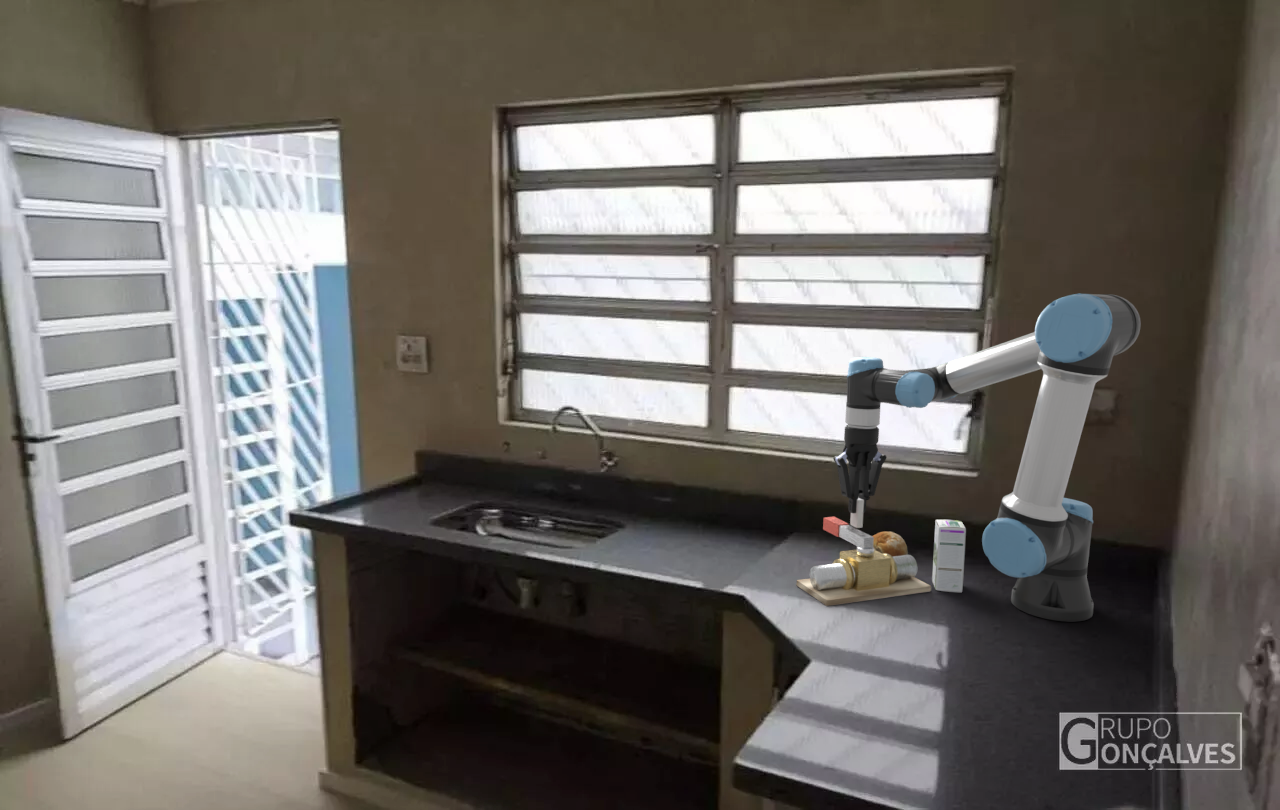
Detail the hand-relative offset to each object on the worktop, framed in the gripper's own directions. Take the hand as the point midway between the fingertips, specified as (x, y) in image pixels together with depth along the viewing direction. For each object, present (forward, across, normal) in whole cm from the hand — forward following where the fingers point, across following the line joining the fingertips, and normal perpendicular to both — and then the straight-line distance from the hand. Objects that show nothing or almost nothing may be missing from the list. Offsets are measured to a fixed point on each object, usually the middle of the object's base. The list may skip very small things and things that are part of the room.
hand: (856, 525), depth 190 cm
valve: (+10, +6, +12) cm, 17 cm away
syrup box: (+10, -12, +17) cm, 23 cm away
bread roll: (+10, -12, -4) cm, 16 cm away
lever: (+2, +6, +6) cm, 8 cm away
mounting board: (+10, +6, +12) cm, 17 cm away
